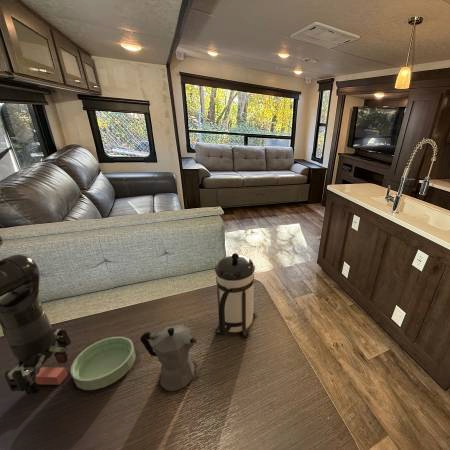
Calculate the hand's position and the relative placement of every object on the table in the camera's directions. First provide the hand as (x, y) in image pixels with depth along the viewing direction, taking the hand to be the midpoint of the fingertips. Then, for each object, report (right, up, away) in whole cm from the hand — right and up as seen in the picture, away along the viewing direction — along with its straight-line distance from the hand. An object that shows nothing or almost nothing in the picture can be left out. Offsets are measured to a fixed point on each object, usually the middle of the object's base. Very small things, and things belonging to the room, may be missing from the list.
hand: (49, 376), depth 67 cm
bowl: (+12, -1, +5) cm, 13 cm away
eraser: (0, -1, +1) cm, 1 cm away
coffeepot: (+32, -3, +5) cm, 32 cm away
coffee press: (+45, +4, +23) cm, 51 cm away
